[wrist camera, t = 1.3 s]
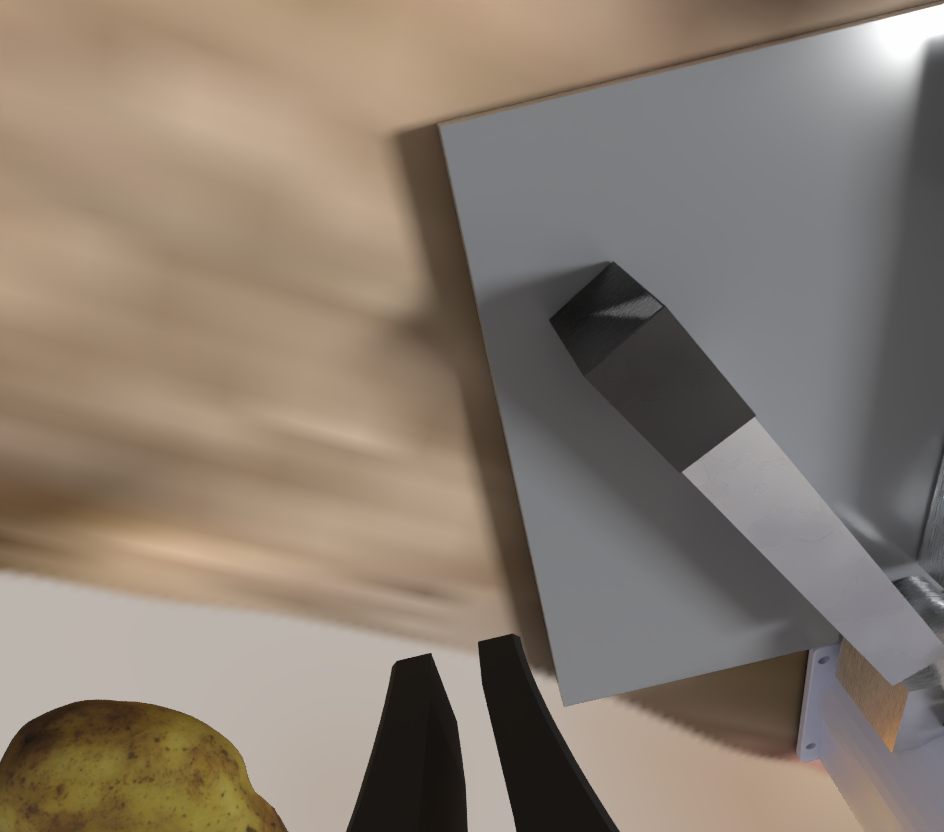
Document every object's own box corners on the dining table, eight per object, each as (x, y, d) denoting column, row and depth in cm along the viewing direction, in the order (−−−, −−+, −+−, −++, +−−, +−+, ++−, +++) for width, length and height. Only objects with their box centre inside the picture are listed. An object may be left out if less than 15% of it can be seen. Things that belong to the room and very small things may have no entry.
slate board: (973, 584, 26) (997, 605, 25) (557, 682, 27) (563, 706, 26) (1179, -58, 15) (1238, -68, 14) (436, 123, 15) (439, 127, 14)
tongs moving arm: (881, 578, 24) (954, 655, 20) (829, 610, 24) (893, 689, 21) (613, 260, 16) (665, 306, 13) (548, 320, 17) (583, 376, 13)
